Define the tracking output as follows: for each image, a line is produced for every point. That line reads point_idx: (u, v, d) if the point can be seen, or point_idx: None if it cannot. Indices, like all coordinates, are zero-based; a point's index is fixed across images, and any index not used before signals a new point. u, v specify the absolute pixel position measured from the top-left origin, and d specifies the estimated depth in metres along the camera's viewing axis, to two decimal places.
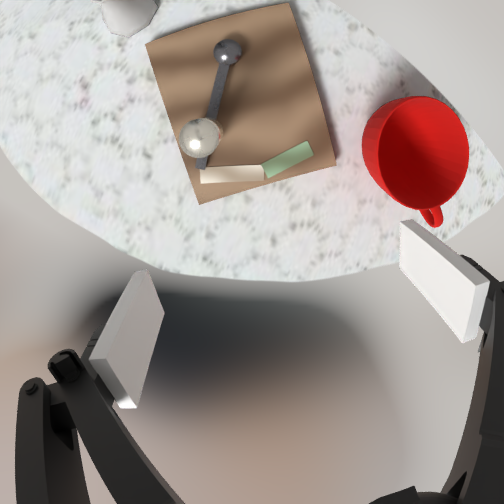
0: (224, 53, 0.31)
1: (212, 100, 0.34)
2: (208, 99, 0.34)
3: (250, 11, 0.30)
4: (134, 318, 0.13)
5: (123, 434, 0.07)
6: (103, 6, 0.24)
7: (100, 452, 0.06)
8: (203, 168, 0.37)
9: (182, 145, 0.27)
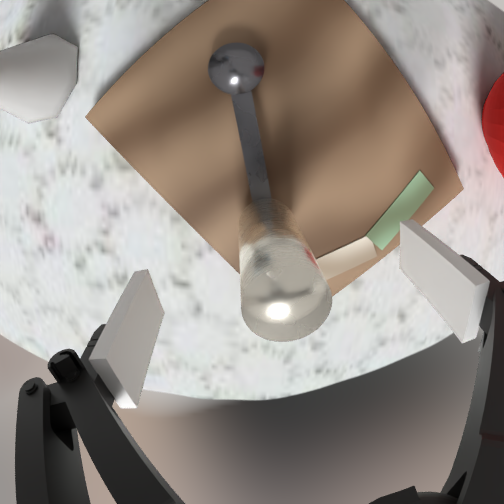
0: (232, 73, 0.16)
1: (251, 168, 0.19)
2: (240, 165, 0.20)
3: None
4: (134, 318, 0.13)
5: (123, 434, 0.07)
6: None
7: (100, 452, 0.06)
8: None
9: (258, 330, 0.13)
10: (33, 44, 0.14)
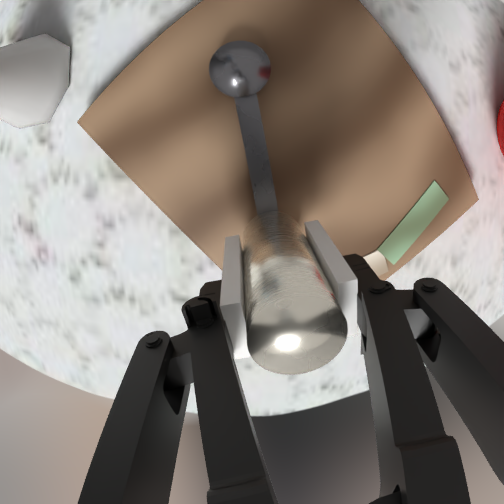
0: (235, 74, 0.15)
1: (256, 178, 0.17)
2: (244, 175, 0.18)
3: None
4: (242, 274, 0.14)
5: (240, 393, 0.08)
6: None
7: (209, 405, 0.07)
8: None
9: (265, 363, 0.11)
10: (22, 44, 0.12)
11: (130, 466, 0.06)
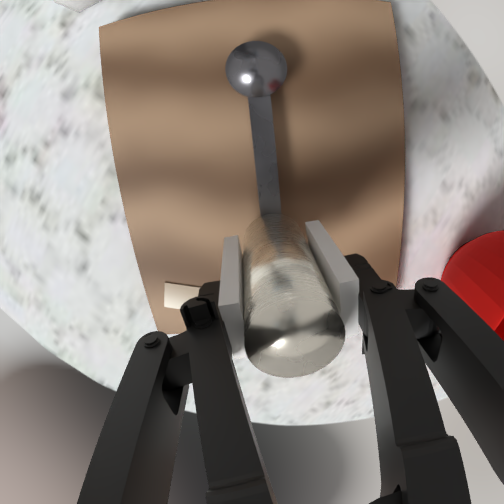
0: (251, 74, 0.15)
1: (262, 179, 0.17)
2: (198, 160, 0.18)
3: None
4: (240, 274, 0.14)
5: (238, 394, 0.08)
6: None
7: (208, 405, 0.07)
8: None
9: (260, 364, 0.11)
10: None
11: (129, 466, 0.06)
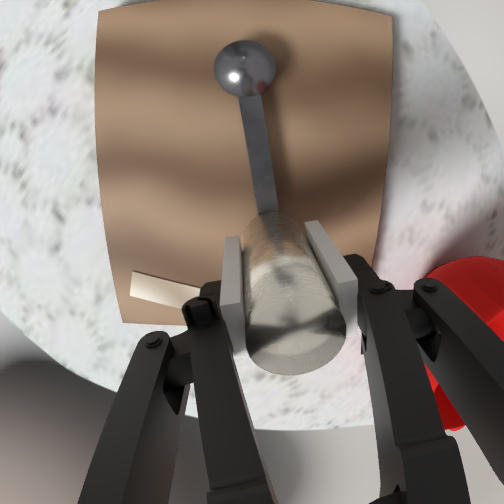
0: (240, 73, 0.15)
1: (258, 178, 0.17)
2: (177, 153, 0.18)
3: (318, 3, 0.14)
4: (241, 274, 0.14)
5: (240, 393, 0.08)
6: None
7: (209, 405, 0.07)
8: None
9: (263, 363, 0.11)
10: None
11: (130, 466, 0.06)
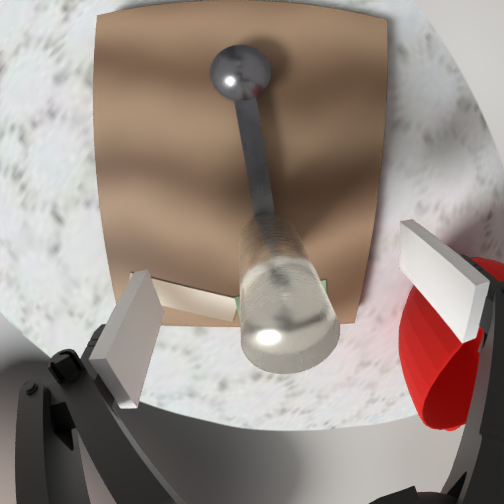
0: (236, 78, 0.15)
1: (254, 180, 0.18)
2: (174, 156, 0.18)
3: (313, 7, 0.14)
4: (134, 318, 0.13)
5: (123, 434, 0.07)
6: None
7: (100, 452, 0.06)
8: None
9: (259, 362, 0.12)
10: None
11: (47, 498, 0.05)
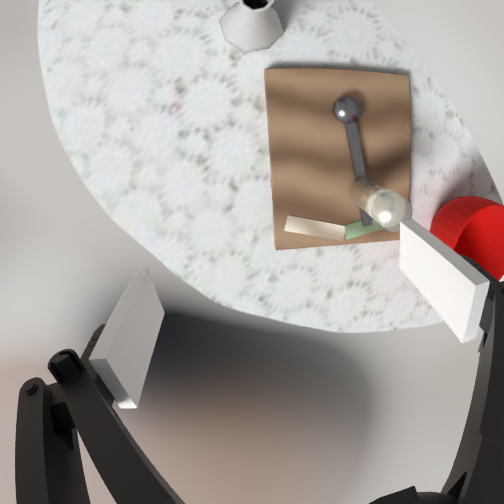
0: (347, 112, 0.32)
1: (356, 161, 0.35)
2: (315, 150, 0.35)
3: (374, 73, 0.32)
4: (134, 318, 0.13)
5: (123, 434, 0.07)
6: (244, 14, 0.24)
7: (100, 452, 0.06)
8: (371, 223, 0.38)
9: (385, 226, 0.29)
10: (273, 11, 0.27)
11: (47, 498, 0.05)
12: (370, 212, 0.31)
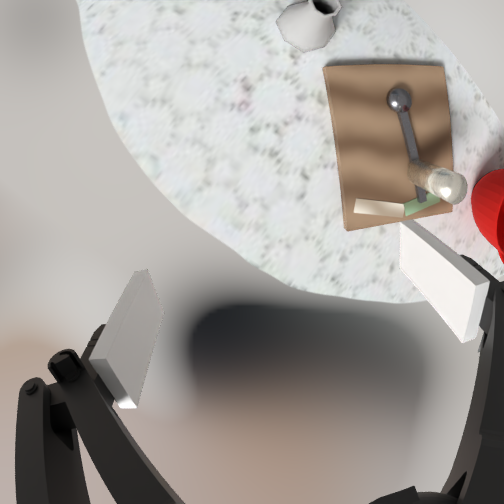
0: (400, 103, 0.34)
1: (410, 145, 0.36)
2: (375, 138, 0.37)
3: (416, 66, 0.33)
4: (134, 318, 0.13)
5: (123, 434, 0.07)
6: (312, 17, 0.26)
7: (100, 452, 0.06)
8: (425, 200, 0.40)
9: (448, 199, 0.30)
10: None
11: (47, 498, 0.05)
12: (432, 189, 0.33)
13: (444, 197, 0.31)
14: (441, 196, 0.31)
